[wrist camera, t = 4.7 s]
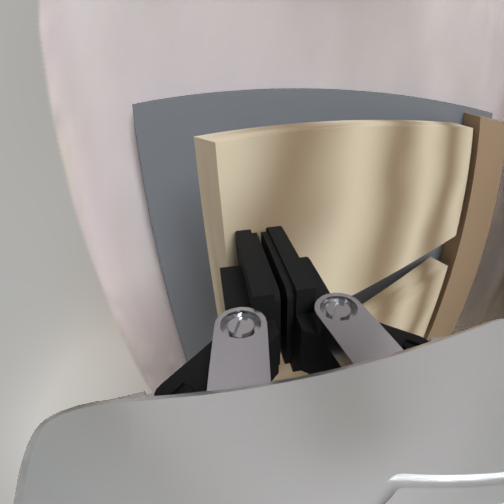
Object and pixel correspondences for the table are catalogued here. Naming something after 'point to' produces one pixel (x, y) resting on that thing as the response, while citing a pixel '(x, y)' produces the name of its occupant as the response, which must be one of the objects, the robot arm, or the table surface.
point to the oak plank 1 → (335, 193)
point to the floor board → (288, 112)
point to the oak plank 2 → (400, 304)
